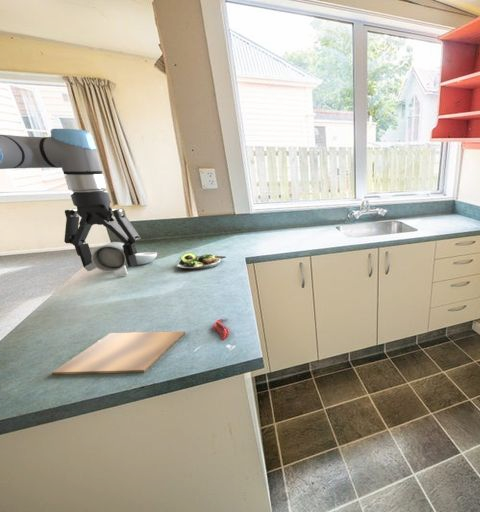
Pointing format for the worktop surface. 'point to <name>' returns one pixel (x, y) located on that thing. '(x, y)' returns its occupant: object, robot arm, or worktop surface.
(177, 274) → the worktop surface
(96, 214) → the robot arm
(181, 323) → the worktop surface
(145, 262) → the spoon rest
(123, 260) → the ceramic mug
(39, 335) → the worktop surface
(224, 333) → the cayenne pepper
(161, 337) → the cutting board
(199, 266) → the salad plate
